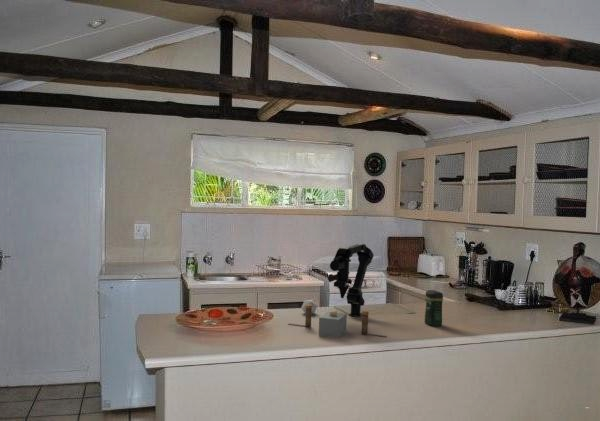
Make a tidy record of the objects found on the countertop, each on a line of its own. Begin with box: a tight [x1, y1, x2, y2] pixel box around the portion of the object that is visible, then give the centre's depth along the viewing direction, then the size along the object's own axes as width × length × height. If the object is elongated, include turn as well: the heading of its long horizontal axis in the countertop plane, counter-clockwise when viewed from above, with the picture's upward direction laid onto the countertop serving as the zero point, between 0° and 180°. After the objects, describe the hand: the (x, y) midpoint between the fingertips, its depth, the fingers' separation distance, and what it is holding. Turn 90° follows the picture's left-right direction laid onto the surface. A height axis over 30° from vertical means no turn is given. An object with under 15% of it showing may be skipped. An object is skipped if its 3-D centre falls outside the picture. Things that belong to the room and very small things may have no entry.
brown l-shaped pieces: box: [287, 305, 387, 338], centre depth 255 cm, size 3×52×11 cm, turn 68°
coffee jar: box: [424, 289, 444, 327], centre depth 273 cm, size 10×8×19 cm
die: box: [301, 299, 318, 315], centre depth 290 cm, size 8×9×10 cm
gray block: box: [318, 310, 348, 339], centre depth 250 cm, size 14×10×11 cm
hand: (342, 298), depth 277 cm, fingers closed
